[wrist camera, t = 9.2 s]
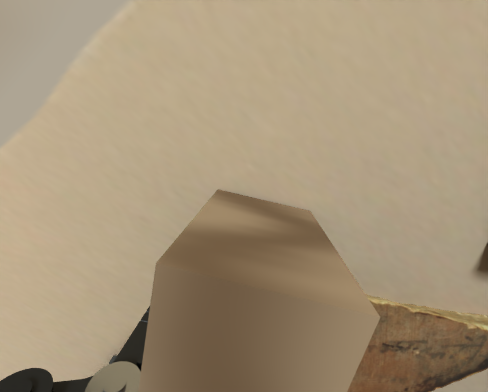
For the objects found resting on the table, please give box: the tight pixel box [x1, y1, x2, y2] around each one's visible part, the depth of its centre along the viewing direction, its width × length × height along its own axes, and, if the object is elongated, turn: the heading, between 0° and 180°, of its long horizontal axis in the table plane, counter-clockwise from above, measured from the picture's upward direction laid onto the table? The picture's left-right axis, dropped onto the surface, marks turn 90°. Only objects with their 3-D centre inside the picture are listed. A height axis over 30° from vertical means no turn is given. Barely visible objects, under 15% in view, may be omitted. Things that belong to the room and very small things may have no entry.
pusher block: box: [138, 190, 380, 392], centre depth 8 cm, size 4×10×6 cm, turn 167°
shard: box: [347, 294, 488, 392], centre depth 11 cm, size 11×8×2 cm
